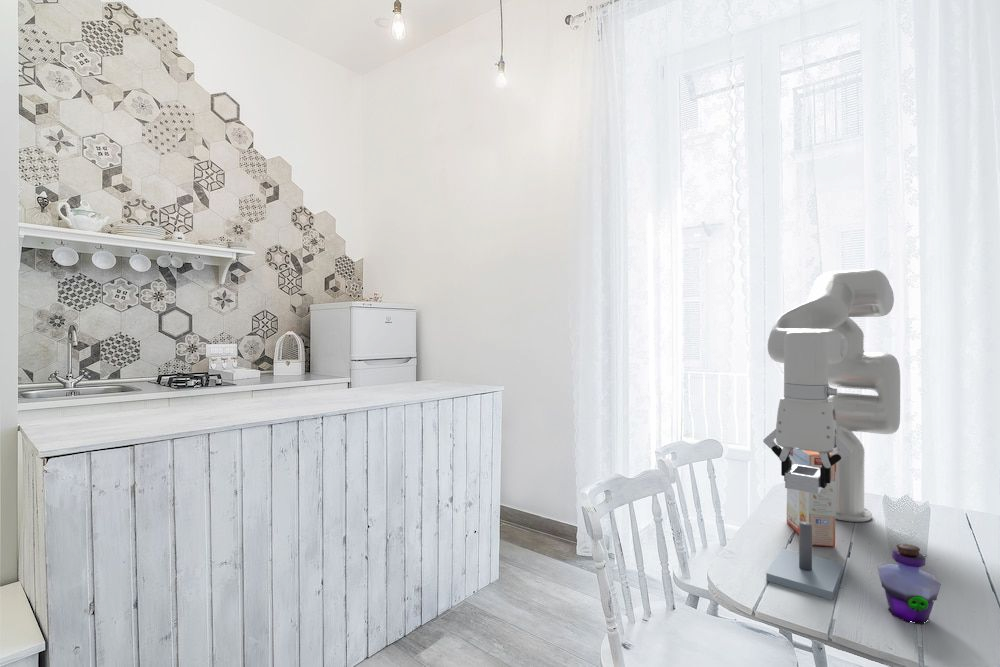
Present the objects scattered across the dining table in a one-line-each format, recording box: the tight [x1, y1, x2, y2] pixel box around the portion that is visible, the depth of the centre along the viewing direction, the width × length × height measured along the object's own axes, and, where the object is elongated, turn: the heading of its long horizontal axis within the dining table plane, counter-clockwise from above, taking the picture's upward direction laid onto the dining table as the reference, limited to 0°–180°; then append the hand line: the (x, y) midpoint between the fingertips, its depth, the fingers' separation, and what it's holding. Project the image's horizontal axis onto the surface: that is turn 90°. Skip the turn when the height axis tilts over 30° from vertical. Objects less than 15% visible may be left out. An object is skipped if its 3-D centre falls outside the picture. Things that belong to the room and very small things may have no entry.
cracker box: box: [786, 449, 836, 548], centre depth 120 cm, size 14×6×21 cm, turn 168°
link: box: [784, 464, 822, 494], centre depth 101 cm, size 8×6×3 cm
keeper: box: [765, 522, 844, 601], centre depth 101 cm, size 14×11×10 cm
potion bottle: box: [877, 543, 942, 625], centre depth 87 cm, size 9×9×12 cm
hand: (805, 482), depth 101 cm, fingers closed on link, 5 cm apart
